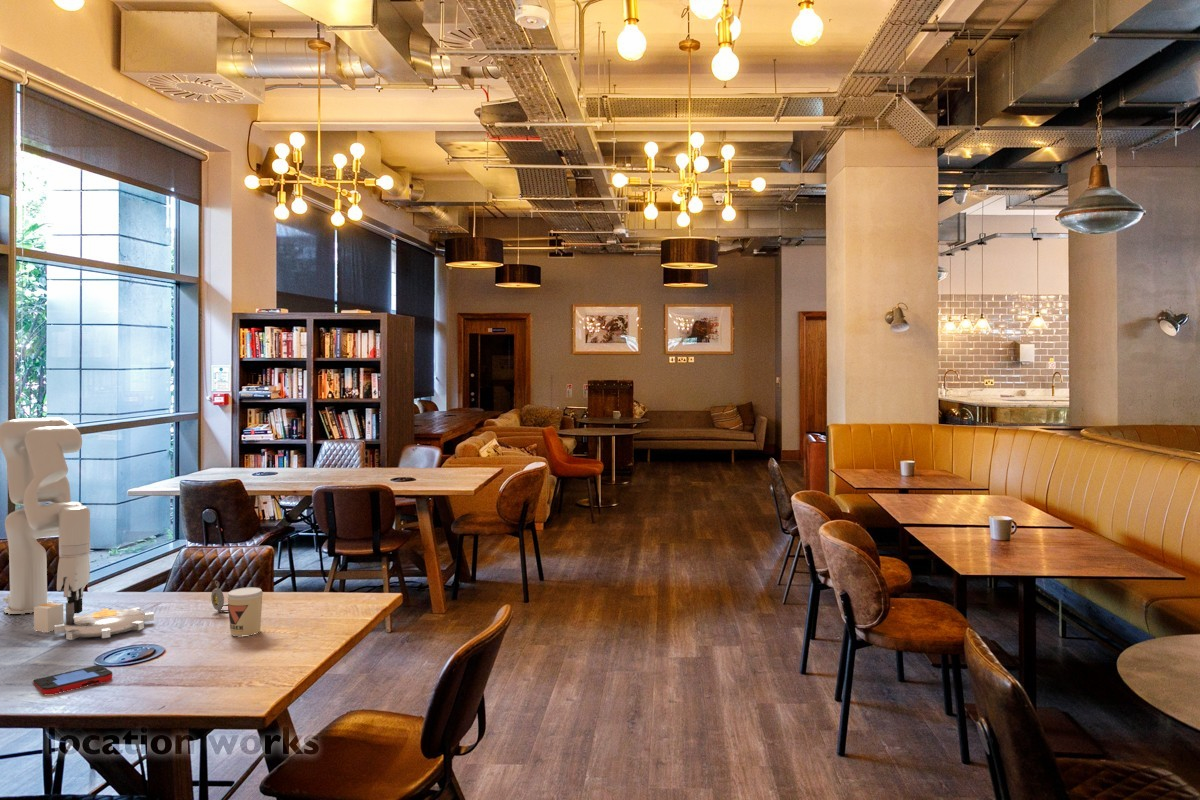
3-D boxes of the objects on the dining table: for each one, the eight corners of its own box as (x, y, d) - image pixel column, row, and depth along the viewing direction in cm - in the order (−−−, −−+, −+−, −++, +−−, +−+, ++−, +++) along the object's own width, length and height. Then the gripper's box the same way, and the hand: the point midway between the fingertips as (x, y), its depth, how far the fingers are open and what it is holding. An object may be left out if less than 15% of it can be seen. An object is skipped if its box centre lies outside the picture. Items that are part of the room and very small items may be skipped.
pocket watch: (244, 607, 258) (244, 576, 258) (230, 615, 249) (229, 582, 249) (220, 606, 259) (219, 575, 258) (204, 614, 250) (204, 582, 250)
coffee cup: (220, 635, 230) (219, 593, 230) (248, 626, 239) (247, 585, 238) (242, 640, 226) (242, 597, 226) (270, 630, 234) (270, 589, 234)
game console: (100, 669, 205) (100, 660, 205) (115, 682, 196) (115, 673, 196) (31, 684, 195) (31, 674, 195) (44, 699, 186) (44, 689, 186)
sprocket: (53, 645, 218) (52, 615, 218) (56, 622, 239) (55, 594, 239) (156, 630, 231) (155, 602, 231) (150, 609, 252) (150, 583, 252)
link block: (34, 631, 233) (33, 606, 233) (50, 626, 238) (49, 602, 238) (48, 632, 232) (47, 608, 232) (63, 627, 237) (63, 603, 237)
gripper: (72, 543, 240) (73, 605, 241) (46, 555, 225) (47, 621, 226) (100, 543, 241) (100, 604, 242) (76, 555, 226) (76, 620, 227)
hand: (75, 612), depth 234 cm, fingers closed
